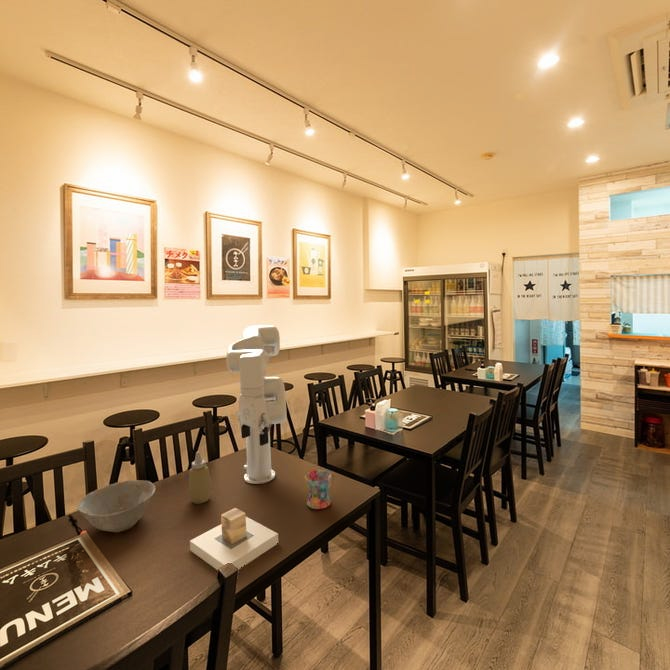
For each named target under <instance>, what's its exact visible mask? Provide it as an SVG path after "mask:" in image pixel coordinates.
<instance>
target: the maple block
mask: <svg viewBox="0 0 670 670" xmlns="http://www.w3.org/2000/svg"><path fill="white" fill-rule="evenodd" d="M246 517H247V516H246V512H245V511H242V510H240V509H239V508H237V507H234V508H232V509H230V510H228V511H226V512H223V513H222V514H220V521H221V522H220V523H221V525H222V538H223V539H225V540H227V541H228V542H230V543H231V544H234V543H235V542H237V541H239V540H240V539H242V538H244V537H246V536H247V532H246Z"/></svg>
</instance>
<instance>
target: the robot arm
mask: <svg viewBox="0 0 670 670" xmlns="http://www.w3.org/2000/svg"><path fill="white" fill-rule="evenodd" d="M280 336H281V335H280V332H279V329H278V328H277V327H276V326H275V325H270V324H269V325H268V324H266V325H252V326H248V327H247V328H245V329H244V330H243V334H242V339H240V340H237V341H235V342H233V343H231V344H230V345H229V347H228V349H227V353H226V358H225V362H226V363H225V364H226V368H227V369H228V370H229V372H232V373H239V383H240V394H239V400H238V411H237V412H236V414H237V417H238V419H237V420H238V421H239V426H240V427H241V428H240V429H241V431H240V432H241V439H245V442H246V443H245V444H246V446H245V447H246V463H245V464H244V465H243V469H244V470H246V473H245V474H244V476H243V480H244V481H245V482H246V483H248V484H252V485H260V484H266V483H269V482H270V481H272V480H274V479H275V477H276V471H275V470H274V469H272V457H271V435H270V433H269V432H270V430H271V429H272V425H275V424H277V425H278V424H283V423H284V422H286V419H287V402H286V400H287V399H286V389H285V388H286V387H285V383H284V380H283V378H281V377H280V376H267V367H268V366H269V363H270V357H274V356H277V355H278V354H279V353H280V348H281V345H280V344H281V341H280V340H281V338H280Z"/></svg>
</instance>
